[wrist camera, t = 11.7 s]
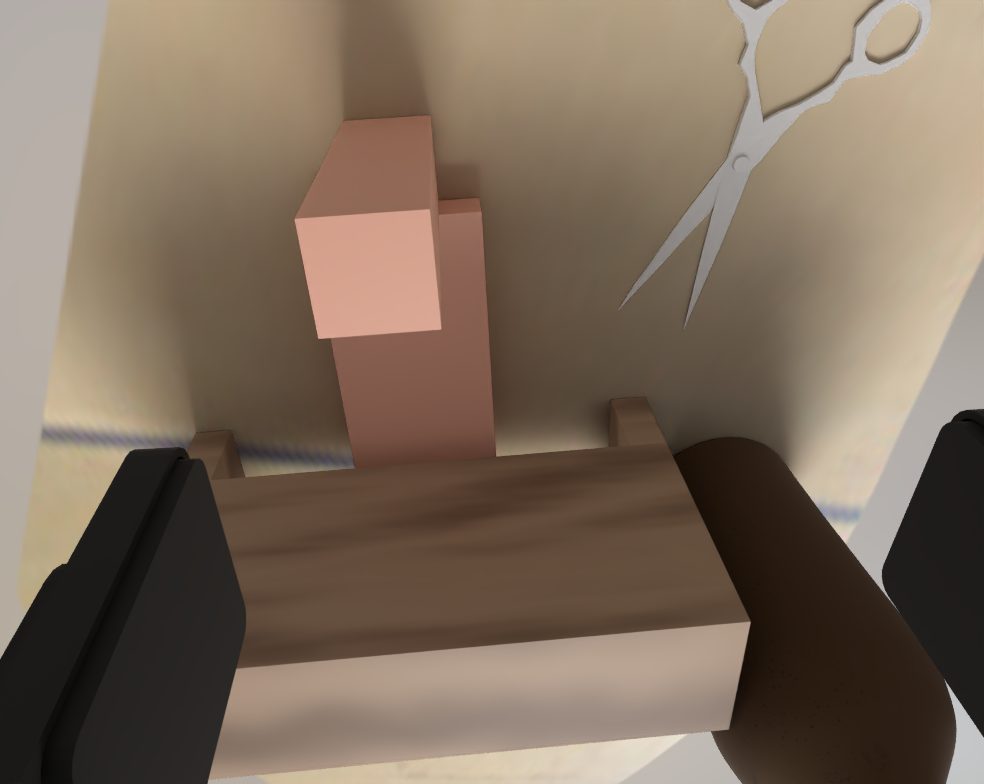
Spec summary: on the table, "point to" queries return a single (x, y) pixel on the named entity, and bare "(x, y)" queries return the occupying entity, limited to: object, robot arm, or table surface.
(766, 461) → the olive oil
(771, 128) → the scissors
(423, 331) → the block
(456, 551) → the cabinet
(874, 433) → the table surface
